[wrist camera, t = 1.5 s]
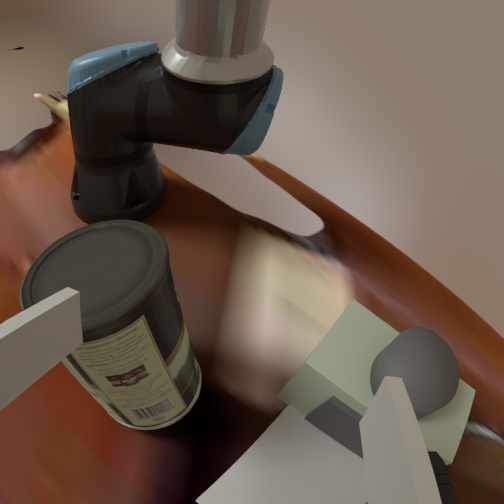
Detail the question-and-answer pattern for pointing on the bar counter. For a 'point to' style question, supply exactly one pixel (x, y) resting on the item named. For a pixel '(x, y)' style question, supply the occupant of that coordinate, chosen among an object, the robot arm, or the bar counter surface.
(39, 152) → the bar counter surface
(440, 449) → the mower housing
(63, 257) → the coffee can
